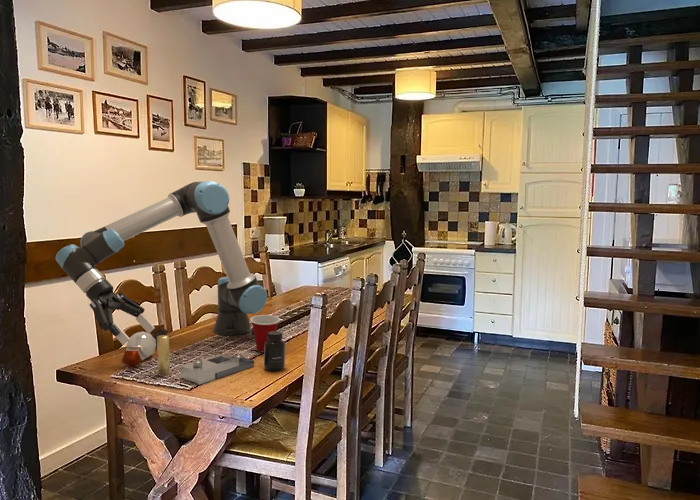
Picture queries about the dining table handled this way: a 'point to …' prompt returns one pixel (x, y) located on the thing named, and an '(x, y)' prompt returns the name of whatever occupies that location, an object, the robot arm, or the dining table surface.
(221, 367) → the grey socket block
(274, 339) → the supplement bottle
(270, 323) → the plastic cup
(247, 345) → the dining table surface
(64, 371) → the dining table surface
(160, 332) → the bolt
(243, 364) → the lower chain end
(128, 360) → the potion bottle
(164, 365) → the brass pin
